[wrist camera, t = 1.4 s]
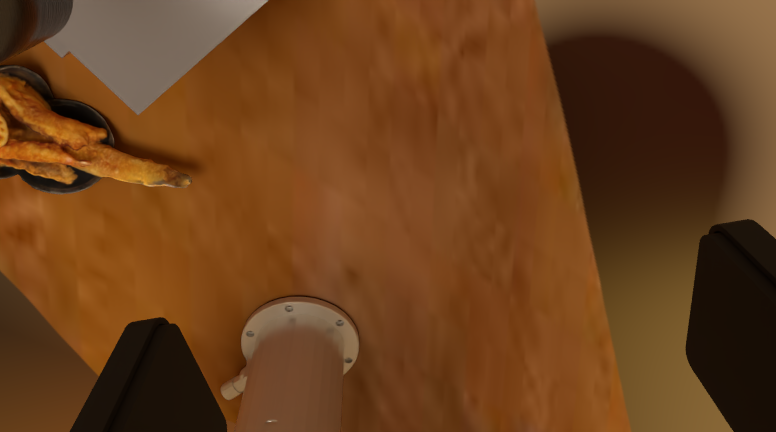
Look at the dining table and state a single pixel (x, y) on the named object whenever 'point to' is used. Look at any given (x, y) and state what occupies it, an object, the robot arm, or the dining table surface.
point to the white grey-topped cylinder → (147, 40)
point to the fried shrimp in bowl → (63, 141)
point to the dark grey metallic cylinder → (30, 23)
